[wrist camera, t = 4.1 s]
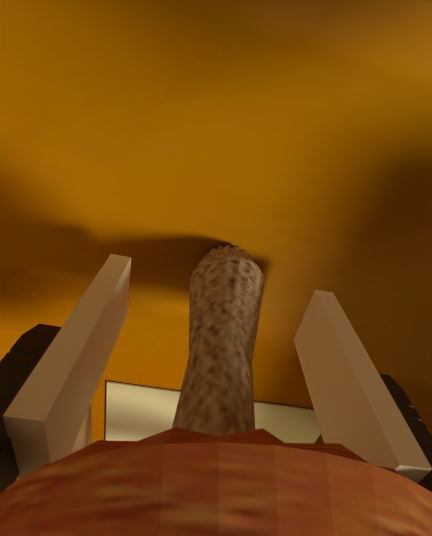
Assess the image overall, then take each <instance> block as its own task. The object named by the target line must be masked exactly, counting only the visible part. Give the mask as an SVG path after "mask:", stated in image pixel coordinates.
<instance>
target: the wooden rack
mask: <svg viewBox="0 0 432 536" xmlns="http://www.w3.org/2000/svg"><path fill="white" fill-rule="evenodd" d="M180 392H181V391H176V390H169V389H162V388H155V387H147V386H140V385H133V384H126V383H118V382H111V381H107V397H106V441H139V440H141V439H144V438H147V437H150V436H152V435H155V434H158V433H161V432H163V431H166V430H169V429H171V428H172V425H173V421H174V417H175V413H176V409H177V404H178V400H179V396H180ZM254 414H255V429H261V428H263V429H265V430H266V431H268V432H269V433H271V434H272V435H274V436H275V437H277V438H278V439H280V440H281V441H283V442H284V443H315V442H316V440H317V438H318V437H319V435H320V434H321V432H320V428H319V425H318V421H317V418H316V415H315V411H314V409H307V408H300V407H293V406H286V405H278V404H271V403H264V402H257V401H254ZM90 444H91V403H90V406H89V408H88V411H87V413H86V416H85V418H84V420H83V423H82V425H81V428H80V430H79V432H78V435H77V437H76V440H75V442H74V445H73V447H72V449H71V452H70V454H72V453H74V452H76V451H78V450H80V449H82V448H84V447H86V446H88V445H90ZM70 454H69V455H70Z"/></svg>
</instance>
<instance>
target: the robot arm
mask: <svg viewBox="0 0 432 536" xmlns="http://www.w3.org/2000/svg"><path fill="white" fill-rule="evenodd" d="M130 269H131V257H126V256H121V255H115V254H110V256H109V257H108V259H107V260H106V262H105V263H104V265H103V266H102V268H101V269H100V271H99V272H98V274H97V275H96V277H95V278H94V280H93V281H92V283H91V284H90V286H89V287H88V289H87V290H86V292H85V293H84V295H83V296H82V298H81V299H80V301H79V302H78V304H77V305H76V307H75V308H74V310H73V311H72V313H71V314H70V316H69V317H68V319H67V320H66V322H65V323H64V325H63V326H62V327H57V326H51V325H44V324H38V325H37V326H35V327H33V328H32V329H30V330H29V331H27V332H26V333H24V334H23V335H22V336H21V337H20V338H19V339H18V340H17V342H16V343H15V344H14V345H13V347H12V348H11V349H10V352H9V353H7V354H6V355H5V357H4V358H3V359H2V360H1V361H0V493H1V492H2V491H3V490H4V489H5V488H7V487H8V486H9V485H11V484H13V483H14V482H15V481H16V479H17V477H18V478H19V480H20V479H21V478H23V477H25V476H26V475H28V474H30V473H32V472H33V471H35V470H37V469H38V468H40V467H42V466H43V465H45V464H48V463H53V462H55V461H57V460H59V459H62V458H64V457H66V456H68V455H69V454H70V452H71V449H72V447H73V445H74V442H75V440H76V437H77V435H78V432H79V430H80V428H81V425H82V423H83V420H84V418H85V416H86V413H87V411H88V408H89V406H90V403H91V401H92V399H93V396H94V394H95V391H96V389H97V387H98V384H99V382H100V379H101V377H102V374H103V372H104V370H105V367H106V365H107V362H108V360H109V357H110V355H111V353H112V350H113V348H114V345H115V343H116V341H117V338H118V336H119V333H120V331H121V328H122V326H123V324H124V321H125V319H126V316H127V314H128V301H129V285H130ZM293 340H294V343H295V347H296V350H297V354H298V357H299V360H300V364H301V367H302V371H303V374H304V377H305V381H306V384H307V388H308V391H309V394H310V398H311V401H312V405H313V408H314V411H315V415H316V418H317V421H318V425H319V428H320V432H321V435H322V438H323V442H324V443H333V444H342V445H343V446H345V447H346V448H348V449H349V450H351V451H352V452H354V453H355V454H357V455H358V456H360V457H361V458H363V459H364V460H366V461H367V462H369V463H370V464H373V465H375V466H381V467H387V468H393V469H394V470H396V471H398V472H399V473H401V474H403V475H404V476H406V477H408V478H409V479H411V480H412V481H414V482H416V483H417V484H419V485H421V486H422V487H424V488H426V489H427V490H429V491H431V492H432V436H431V434H430V432H429V431H428V429H427V428H426V426H425V424H424V423H422V422H421V418H420V416H419V414H418V413H417V411H416V410H415V409H413V405H412V403H411V401H410V400H409V398H408V397H407V395H406V393H405V392H404V390H403V389H402V388H401V387H400V386H399V385H398V384H397V383H396V382H395V381H394V380H393V379H392V378H391V377H390V376H389V375H382V374H379V373H378V371H377V369H376V368H375V366H374V364H373V362H372V361H371V359H370V357H369V355H368V353H367V352H366V350H365V348H364V346H363V345H362V343H361V341H360V339H359V337H358V336H357V334H356V332H355V330H354V329H353V327H352V325H351V323H350V321H349V320H348V318H347V316H346V314H345V313H344V311H343V309H342V307H341V305H340V304H339V302H338V300H337V298H336V296H335V295H334V293H333V292H328V291H322V290H316V289H315V291H314V293H313V295H312V298H311V300H310V302H309V305H308V307H307V309H306V311H305V314H304V316H303V318H302V321H301V323H300V325H299V327H298V330H297V332H296V334H295V337H294V339H293Z"/></svg>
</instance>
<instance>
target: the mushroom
mask: <svg viewBox="0 0 432 536" xmlns="http://www.w3.org/2000/svg"><path fill="white" fill-rule="evenodd" d="M263 289H264V275H263V274H262V272H261V270H260V268H259V267H258V265H257V264H256V263H255V261H254V260H253V259H252V257H251V256H250V255H247V254H246V252H245V250H238V248H237V246H235V247H233V248H231V247H230V246H229V245H227V246H226V247H225V248H224V247H222V246H219V248H218V249H213V248H212V250H211V251H210V253H206V255H205V256H204V257H203V258H202V260H201V261H200V262H199V264H198V265H197V266H196V268H195V270H194V271H193V272H192V273H191V279H190V314H189V359H188V363H187V367H186V371H185V375H184V380H183V384H182V388H181V392H180V396H179V400H178V404H177V409H176V413H175V417H174V421H173V425H172V428H171V429H169V430H166V431H163V432H161V433H158V434H155V435H152V436H150V437H147V438H144V439H141V440H139V441H103V440H98V441H96V442H94V443H92V444H90V445H88V446H86V447H84V448H82V449H80V450H78V451H76V452H74V453H72V454H70V455H68V456H66V457H64V458H62V459H59V460H57V461H55V462H53V463H48V464H45V465H43V466H42V467H40V468H38V469H37V470H35V471H33V472H32V473H30V474H28V475H26V476H25V477H23V478H21V479H20V480H18V481H16V482H14V483H13V484H11V485H9V486H8V487H7V488H5V489H4V490H3V491H2V492H1V493H0V536H432V492H431V491H429V490H427V489H426V488H424V487H422V486H421V485H419V484H417V483H416V482H414V481H412V480H411V479H409V478H408V477H406V476H404V475H403V474H401V473H399V472H398V471H396V470H394V469H393V468H387V467H381V466H375V465H373V464H370V463H369V462H367V461H366V460H364V459H363V458H361V457H360V456H358V455H357V454H355V453H354V452H352V451H351V450H349V449H348V448H346V447H345V446H343V445H342V444H333V443H284V442H283V441H281V440H280V439H278V438H277V437H275V436H274V435H272V434H271V433H269V432H268V431H266V430H265V429H263V428H261V429H255V414H254V394H253V375H252V359H253V352H254V346H255V340H256V333H257V327H258V321H259V314H260V308H261V302H262V295H263Z"/></svg>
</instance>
